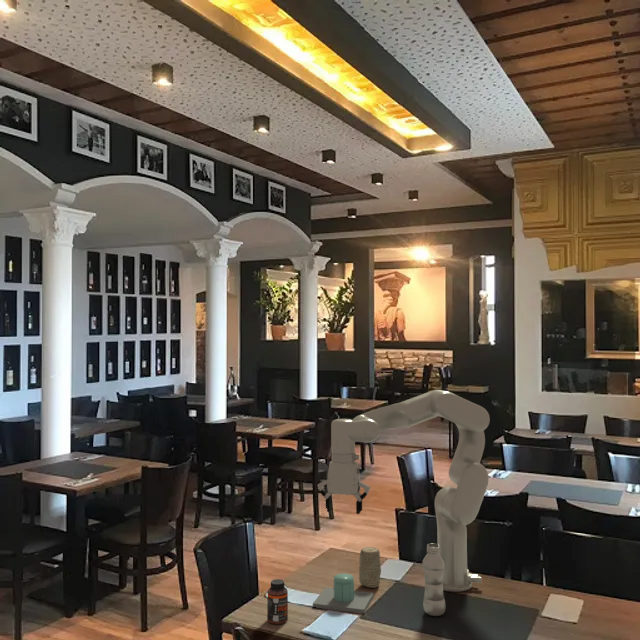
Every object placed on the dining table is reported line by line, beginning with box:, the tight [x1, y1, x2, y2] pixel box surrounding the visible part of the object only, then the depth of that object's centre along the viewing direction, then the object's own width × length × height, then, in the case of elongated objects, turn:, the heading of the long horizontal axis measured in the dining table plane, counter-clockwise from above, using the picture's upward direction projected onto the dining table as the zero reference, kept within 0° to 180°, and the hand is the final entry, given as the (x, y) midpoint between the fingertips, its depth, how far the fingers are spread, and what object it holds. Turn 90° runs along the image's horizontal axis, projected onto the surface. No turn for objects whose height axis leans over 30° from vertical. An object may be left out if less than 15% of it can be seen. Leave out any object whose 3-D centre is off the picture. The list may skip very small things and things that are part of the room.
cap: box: [333, 573, 355, 602], centre depth 198 cm, size 6×6×6 cm
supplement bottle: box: [266, 578, 289, 626], centre depth 185 cm, size 6×6×11 cm
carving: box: [358, 546, 382, 588], centre depth 210 cm, size 6×8×12 cm
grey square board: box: [312, 587, 375, 614], centre depth 197 cm, size 16×13×6 cm
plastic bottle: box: [422, 543, 447, 617], centre depth 188 cm, size 6×7×20 cm
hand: (343, 511), depth 203 cm, fingers open, 9 cm apart
